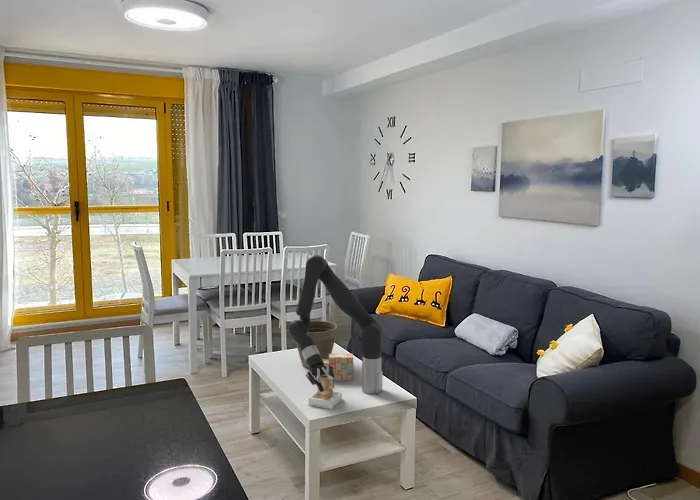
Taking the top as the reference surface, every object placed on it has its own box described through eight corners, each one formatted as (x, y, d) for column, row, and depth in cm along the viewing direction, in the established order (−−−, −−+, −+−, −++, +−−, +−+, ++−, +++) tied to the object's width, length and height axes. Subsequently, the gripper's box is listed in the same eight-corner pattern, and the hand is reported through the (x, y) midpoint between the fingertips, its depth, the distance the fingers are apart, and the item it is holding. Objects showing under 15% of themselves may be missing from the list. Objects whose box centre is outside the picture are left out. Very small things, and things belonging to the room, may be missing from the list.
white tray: (341, 399, 257) (341, 392, 257) (331, 409, 247) (331, 401, 246) (319, 395, 261) (319, 388, 261) (308, 405, 251) (308, 397, 250)
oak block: (326, 394, 257) (326, 373, 256) (332, 398, 253) (332, 376, 252) (317, 397, 254) (317, 376, 253) (323, 400, 250) (323, 379, 249)
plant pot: (286, 360, 311) (286, 322, 308) (328, 354, 320) (327, 318, 317) (300, 375, 288) (300, 334, 285) (344, 368, 297) (344, 329, 294)
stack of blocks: (311, 380, 280) (310, 357, 279) (311, 376, 287) (311, 353, 285) (353, 380, 281) (353, 357, 279) (352, 375, 287) (352, 353, 286)
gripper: (302, 356, 252) (318, 389, 245) (328, 350, 261) (343, 382, 254) (296, 364, 257) (311, 397, 250) (321, 358, 266) (336, 389, 258)
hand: (327, 389), depth 252 cm, fingers closed on oak block, 5 cm apart
